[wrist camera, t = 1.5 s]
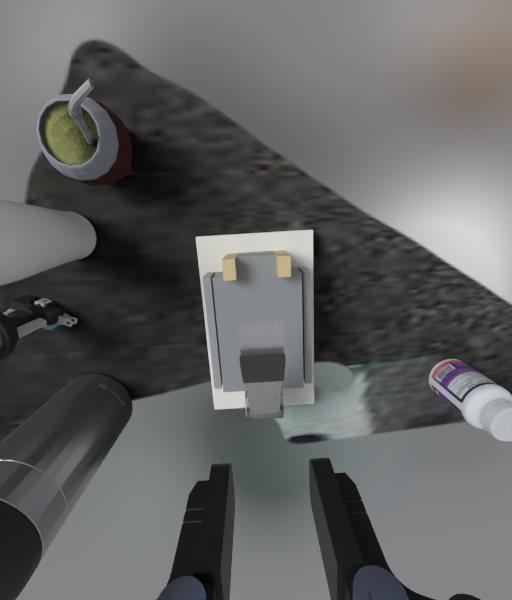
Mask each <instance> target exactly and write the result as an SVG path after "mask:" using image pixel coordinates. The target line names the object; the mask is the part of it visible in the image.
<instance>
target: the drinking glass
mask: <svg viewBox="0 0 512 600" xmlns="http://www.w3.org/2000/svg"><path fill="white" fill-rule="evenodd" d="M95 246H96V233H95V230H94V228H93V226H92V224H91V223H90V222H89V221H88V220H87V219H86V218H85V217H83V216H82V215H80V214H78V213H75V212H70V211H59V210H54V209H49V208H44V207H38V206H33V205H28V204H23V203H18V202H13V201H9V200H4V199H0V286H2V285H6V284H10V283H13V282H16V281H19V280H22V279H25V278H28V277H30V276H33V275H36V274H38V273H41V272H44V271H47V270H49V269H52V268H55V267H58V266H60V265H63V264H66V263H69V262H72V261H76V260H80V259H83V258H85V257H87V256H89V255H90V254H91V253H92V252H93V250H94V248H95Z"/></svg>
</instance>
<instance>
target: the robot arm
mask: <svg viewBox="0 0 512 600" xmlns="http://www.w3.org/2000/svg"><path fill="white" fill-rule="evenodd" d="M131 413H132V401H131V398H130V395H129V394H128V392H127V390H126V389H125V388H124V387H123V386H122V385H121V384H120V383H119V382H118V381H116V380H114V379H113V378H111V377H108V376H105V375H102V374H85V375H81V376H79V377H77V378H75V379H73V380H72V381H71V382H70V383H68V384H67V385H66V386H65V387H64V388H63V389H62V390H60V391H59V392H58V393H57V394H56V395H55V396H53V397H52V398H51V399H50V400H49V401H47V402H46V403H45V404H44V405H43V406H42V407H41V408H39V409H38V410H37V411H36V412H35V413H34V414H32V415H31V416H30V417H29V418H28V419H27V420H26V421H24V422H23V423H22V424H21V425H20V426H19V427H18V428H16V429H15V430H14V431H13V432H12V433H11V434H10V435H8V436H7V437H6V438H5V439H4V440H3V441H1V442H0V600H15V599H16V598H17V597H18V596H19V594H20V593H21V591H22V590H23V588H24V587H25V585H26V584H27V582H28V581H29V579H30V577H31V576H32V574H33V573H34V571H35V569H36V568H37V566H38V564H39V562H40V561H41V559H42V558H43V556H44V555H45V553H46V551H47V550H48V548H49V546H50V545H51V543H52V542H53V540H54V539H55V537H56V535H57V534H58V532H59V531H60V529H61V527H62V526H63V524H64V522H65V521H66V519H67V518H68V516H69V514H70V513H71V511H72V510H73V508H74V506H75V505H76V503H77V502H78V500H79V498H80V497H81V495H82V494H83V492H84V490H85V489H86V487H87V485H88V484H89V483H90V481H91V479H92V478H93V476H94V475H95V473H96V472H97V470H98V468H99V467H100V465H101V464H102V462H103V460H104V459H105V457H106V456H107V454H108V452H109V451H110V449H111V448H112V446H113V445H114V443H115V441H116V440H117V438H118V437H119V435H120V434H121V432H122V430H123V429H124V427H125V425H126V424H127V422H128V421H129V419H130V417H131ZM309 469H310V498H311V506H312V511H313V516H314V520H315V525H316V530H317V535H318V540H319V544H320V549H321V554H322V559H323V564H324V568H325V573H326V578H327V582H328V587H329V591H330V597H331V600H434V599H431V598H428V597H425V596H422V595H420V594H417V593H415V592H413V591H411V590H410V589H409V588H407V587H405V586H404V585H403V584H402V583H401V582H400V581H399V580H398V579H397V578H396V577H395V576H394V574H393V573H392V571H391V570H390V568H389V567H388V564H387V562H386V560H385V558H384V555H383V553H382V550H381V548H380V545H379V543H378V540H377V537H376V535H375V532H374V530H373V527H372V525H371V522H370V520H369V517H368V515H367V513H366V510H365V507H364V504H363V502H362V501H361V497H360V494H359V492H358V489H357V487H356V485H355V483H354V482H353V481H352V480H351V479H350V478H349V476H348V475H347V474H346V473H334V471H333V467H332V464H331V461H330V459H329V458H317V459H310V461H309ZM234 514H235V498H234V486H233V475H232V465H231V463H228V464H212V466H211V472H210V478H209V480H208V481H198V482H197V483H196V485H195V486H194V488H193V489H192V491H191V492H190V494H189V498H188V503H187V507H186V512H185V515H184V520H183V525H182V528H181V533H180V537H179V541H178V546H177V550H176V554H175V559H174V563H173V567H172V572H171V575H170V579H169V581H168V583H167V586H166V587H165V588H164V589H163V591H162V592H161V593H160V595H159V597H158V598H157V599H156V600H229V597H230V580H231V563H232V547H233V546H232V545H233V531H234ZM449 600H480V599H478V598H476V597H474V596H471V595H467V594H456V595H454V596H452V597H451V598H450V599H449Z"/></svg>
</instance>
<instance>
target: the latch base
mask: <svg viewBox="0 0 512 600" xmlns="http://www.w3.org/2000/svg"><path fill="white" fill-rule="evenodd" d="M196 246H197V255H198V264H199V273H200V282H201V291H202V300H203V309H204V318H205V328H206V337H207V346H208V355H209V364H210V373H211V382H212V391H213V400H214V409H215V410H216V409H233V408H246V416H247V406H249V402H248V396H247V390H246V384H245V383H243V379H242V373H241V368H240V356H241V353H240V347H239V340H238V334H237V322H246V321H263V320H280V319H284V324H285V339H284V353H285V358H286V363H285V375H284V381H282V383H281V398H280V405H281V404H282V407H283V406H284V405H302V404H314V283H313V230H297V231H281V232H264V233H247V234H231V235H214V236H198V237H196ZM283 414H284V407H283Z"/></svg>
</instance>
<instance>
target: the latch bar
mask: <svg viewBox="0 0 512 600" xmlns="http://www.w3.org/2000/svg"><path fill="white" fill-rule="evenodd" d="M237 334H238V340H239V347H240V353H241V356H240V368H241V373H242V379H243V383H245V384H246V390H247V396H248V402H249V406H247V420H252V419H269V418H283V407H282V404H281V405H280V398H281V383H282V381H284V375H285V363H286V358H285V353H284V339H285V324H284V319H280V320H263V321H246V322H237Z"/></svg>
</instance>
